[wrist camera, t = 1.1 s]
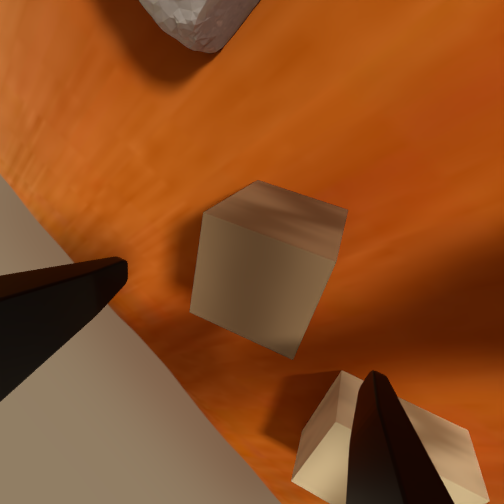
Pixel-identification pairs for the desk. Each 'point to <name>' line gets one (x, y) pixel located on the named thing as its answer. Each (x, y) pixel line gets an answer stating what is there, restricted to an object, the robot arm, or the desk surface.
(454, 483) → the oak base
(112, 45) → the desk surface
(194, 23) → the stone block
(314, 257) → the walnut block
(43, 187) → the desk surface
